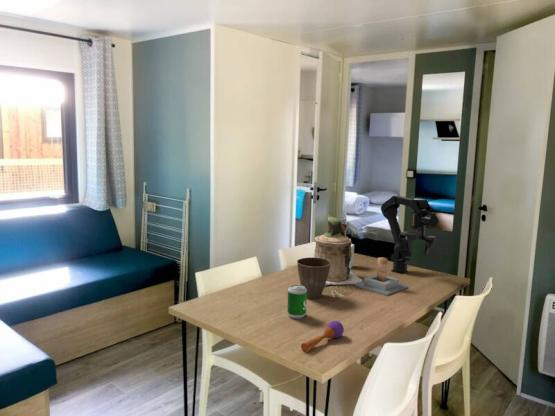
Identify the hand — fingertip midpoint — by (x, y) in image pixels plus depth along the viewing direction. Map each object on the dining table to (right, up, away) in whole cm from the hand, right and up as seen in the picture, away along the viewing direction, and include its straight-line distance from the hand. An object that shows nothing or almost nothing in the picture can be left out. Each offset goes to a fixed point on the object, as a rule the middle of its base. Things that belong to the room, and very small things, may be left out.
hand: (417, 253), depth 232 cm
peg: (-21, -14, -13) cm, 29 cm away
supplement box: (-34, -10, +21) cm, 41 cm away
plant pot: (-56, -17, -28) cm, 64 cm away
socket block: (-21, -15, -13) cm, 29 cm away
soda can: (-64, -20, -51) cm, 84 cm away
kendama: (-56, -24, -74) cm, 96 cm away
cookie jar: (-44, -13, 0) cm, 46 cm away
